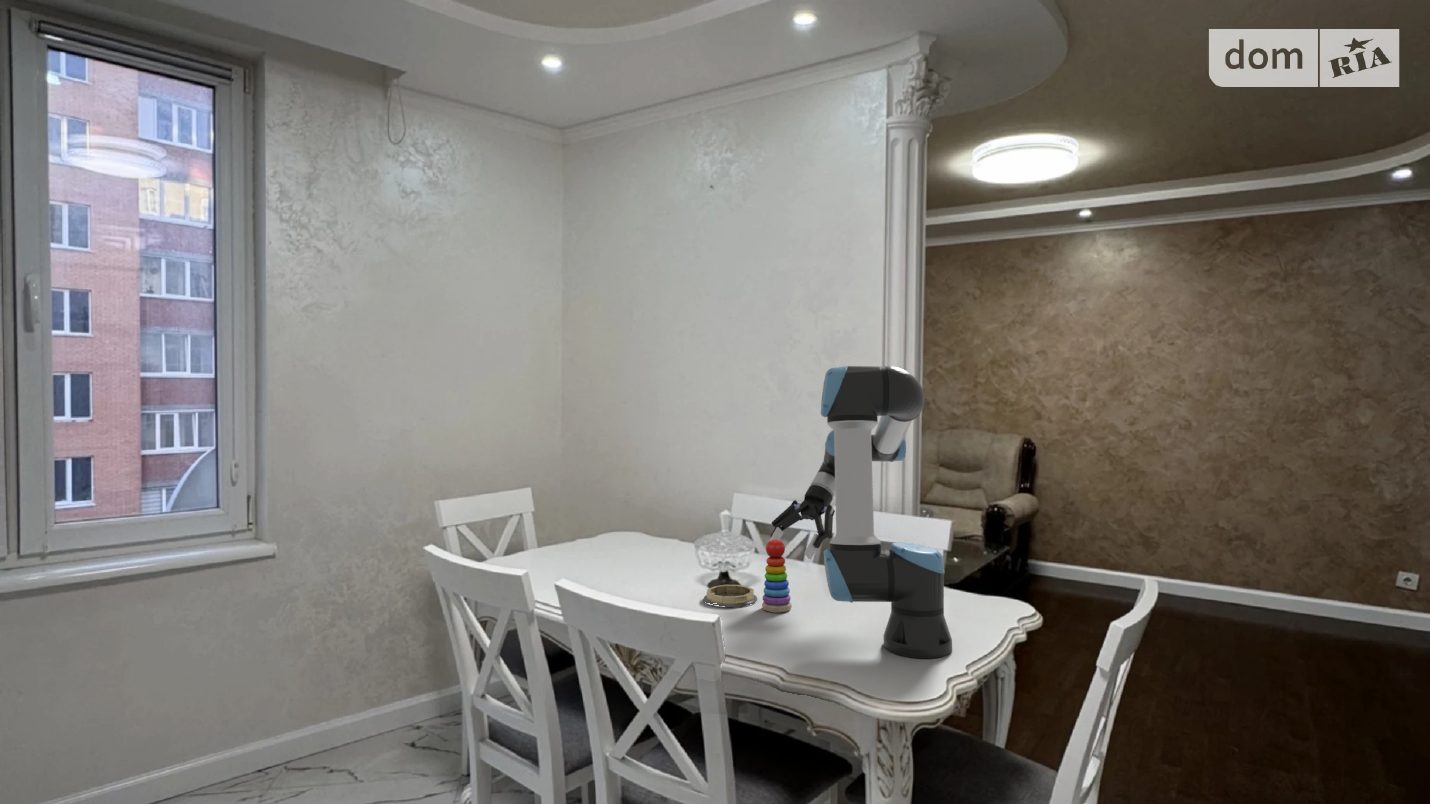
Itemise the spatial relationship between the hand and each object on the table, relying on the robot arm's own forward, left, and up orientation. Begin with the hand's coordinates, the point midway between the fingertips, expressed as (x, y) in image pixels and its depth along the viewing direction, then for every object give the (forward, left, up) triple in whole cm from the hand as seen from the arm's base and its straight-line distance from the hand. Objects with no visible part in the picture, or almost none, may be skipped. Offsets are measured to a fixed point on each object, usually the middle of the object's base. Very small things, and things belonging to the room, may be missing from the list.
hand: (788, 552), depth 208 cm
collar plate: (+3, +16, -14) cm, 22 cm away
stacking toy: (-5, +3, -14) cm, 16 cm away
